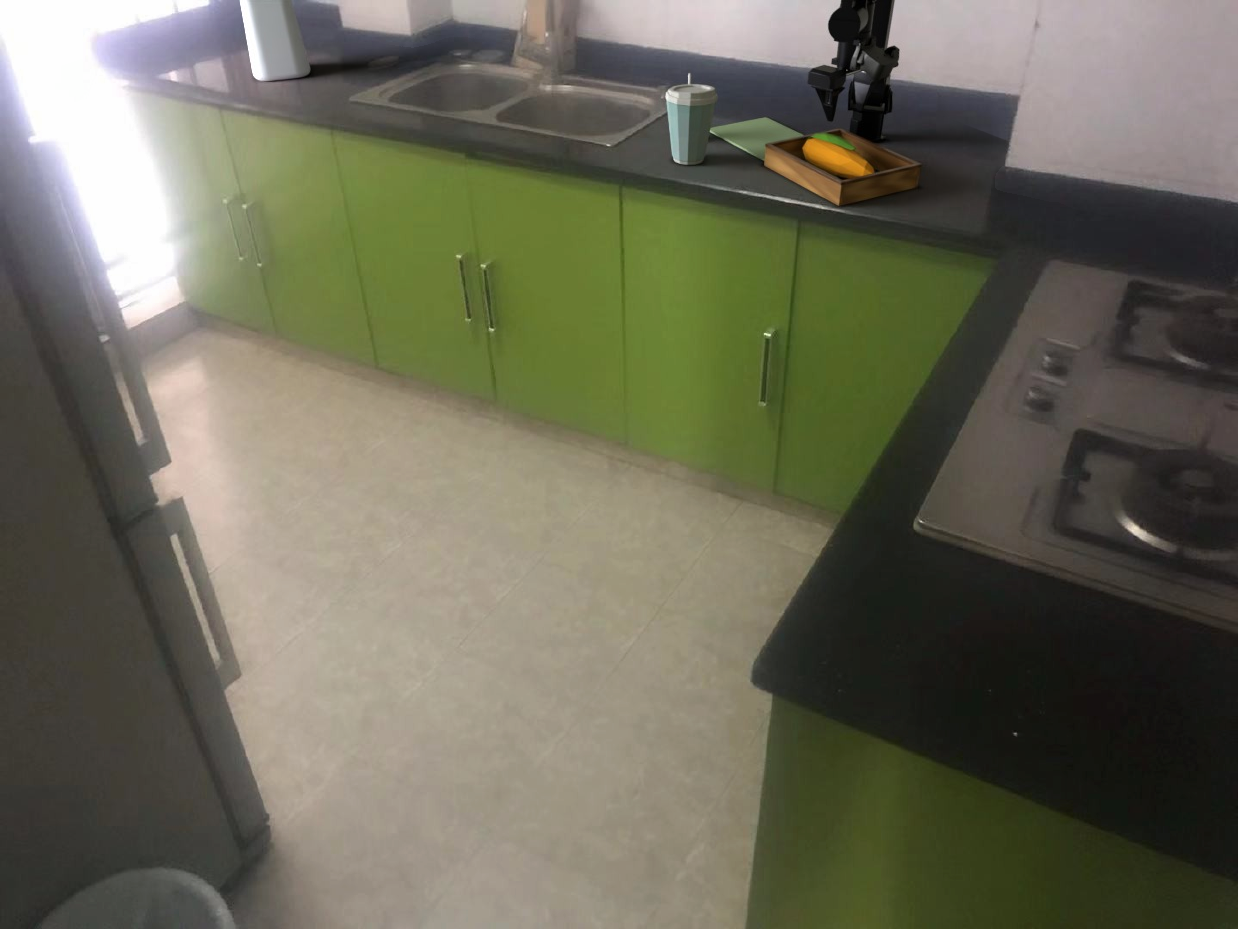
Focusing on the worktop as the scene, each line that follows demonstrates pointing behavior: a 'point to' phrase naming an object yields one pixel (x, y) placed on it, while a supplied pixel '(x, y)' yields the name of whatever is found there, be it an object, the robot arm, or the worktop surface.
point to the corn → (835, 156)
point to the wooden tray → (890, 179)
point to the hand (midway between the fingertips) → (845, 115)
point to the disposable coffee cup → (690, 121)
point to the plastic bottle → (274, 40)
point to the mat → (754, 134)
